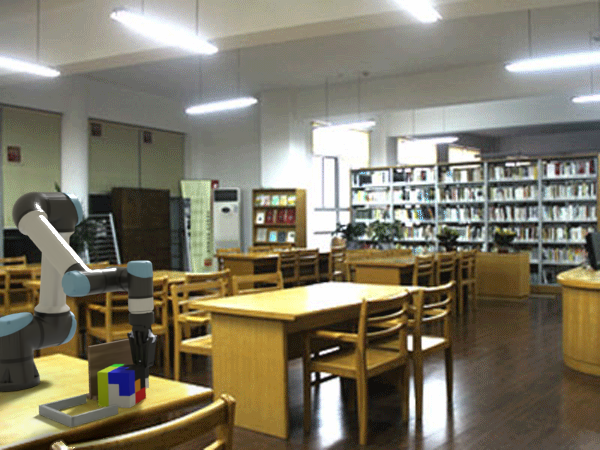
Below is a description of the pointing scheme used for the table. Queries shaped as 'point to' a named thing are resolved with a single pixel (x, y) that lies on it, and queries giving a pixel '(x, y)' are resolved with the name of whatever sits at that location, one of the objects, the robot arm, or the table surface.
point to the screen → (105, 361)
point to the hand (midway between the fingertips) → (143, 388)
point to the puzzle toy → (121, 385)
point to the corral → (52, 413)
